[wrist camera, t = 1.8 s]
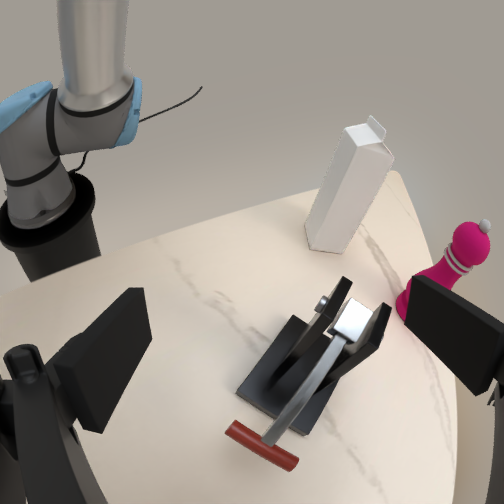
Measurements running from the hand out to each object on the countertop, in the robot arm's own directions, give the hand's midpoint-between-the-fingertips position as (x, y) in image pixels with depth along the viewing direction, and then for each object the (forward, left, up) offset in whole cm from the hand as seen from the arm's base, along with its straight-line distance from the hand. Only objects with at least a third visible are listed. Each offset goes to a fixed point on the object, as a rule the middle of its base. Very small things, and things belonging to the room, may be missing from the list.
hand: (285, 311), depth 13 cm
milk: (-28, +12, -20) cm, 37 cm away
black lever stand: (-4, +7, -20) cm, 22 cm away
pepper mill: (-16, +27, -20) cm, 38 cm away
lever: (0, +5, -10) cm, 11 cm away
